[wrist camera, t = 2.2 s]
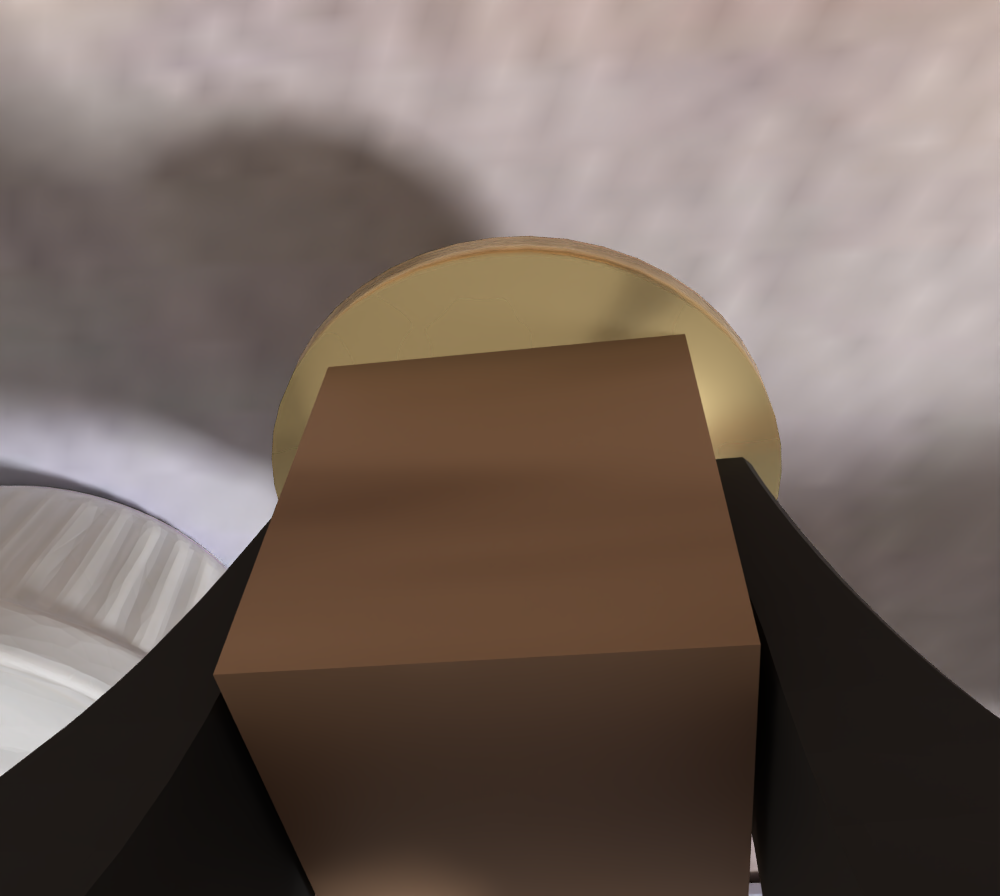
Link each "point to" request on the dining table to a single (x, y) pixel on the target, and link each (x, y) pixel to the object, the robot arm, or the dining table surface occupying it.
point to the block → (504, 632)
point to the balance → (534, 330)
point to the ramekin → (82, 603)
